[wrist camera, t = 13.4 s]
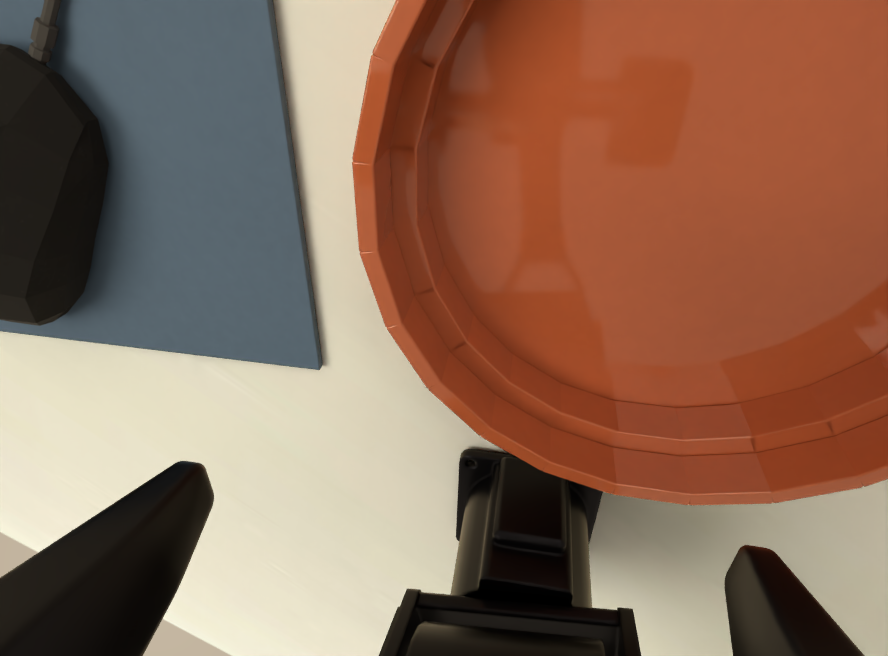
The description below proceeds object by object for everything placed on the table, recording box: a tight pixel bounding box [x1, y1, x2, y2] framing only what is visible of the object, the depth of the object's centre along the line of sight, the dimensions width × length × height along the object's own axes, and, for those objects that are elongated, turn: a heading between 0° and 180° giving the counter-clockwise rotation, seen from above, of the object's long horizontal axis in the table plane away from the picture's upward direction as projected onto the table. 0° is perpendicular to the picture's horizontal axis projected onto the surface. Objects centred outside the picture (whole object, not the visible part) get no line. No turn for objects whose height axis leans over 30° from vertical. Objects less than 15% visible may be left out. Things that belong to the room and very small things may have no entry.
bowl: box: [352, 0, 888, 505], centre depth 15 cm, size 20×20×4 cm
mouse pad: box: [0, 0, 322, 370], centre depth 20 cm, size 18×21×1 cm
